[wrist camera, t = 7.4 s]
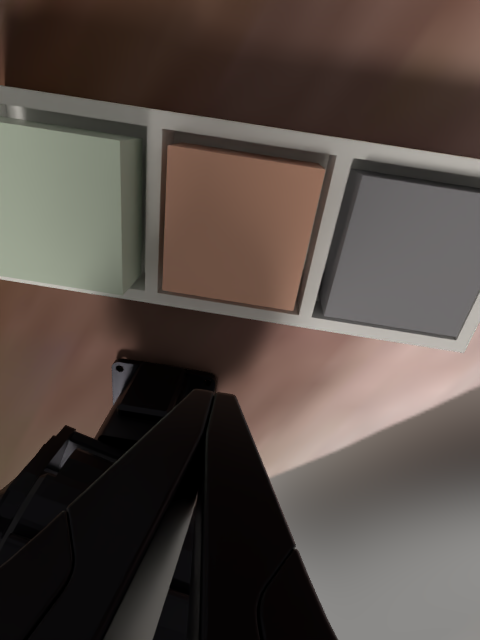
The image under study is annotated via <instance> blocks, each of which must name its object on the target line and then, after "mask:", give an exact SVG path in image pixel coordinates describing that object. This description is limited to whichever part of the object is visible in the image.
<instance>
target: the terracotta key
mask: <svg viewBox="0 0 480 640" xmlns="http://www.w3.org/2000/svg"><path fill="white" fill-rule="evenodd" d="M324 175H325V169H324V168H323V167H322V166H321V165H320V164H319V163H313V162H307V161H300V160H294V159H287V158H281V157H274V156H268V155H261V154H255V153H248V152H242V151H235V150H229V149H222V148H216V147H210V146H203V145H197V144H190V143H184V142H181V143H176V144H171V145H168V148H167V174H166V201H165V227H164V254H163V280H162V290H164V291H170V292H176V293H182V294H189V295H195V296H201V297H208V298H214V299H220V300H227V301H233V302H239V303H245V304H252V305H258V306H264V307H271V308H277V309H283V310H289V311H293V310H294V306H295V301H296V297H297V293H298V288H299V284H300V280H301V275H302V271H303V266H304V262H305V258H306V253H307V249H308V245H309V240H310V236H311V231H312V227H313V223H314V218H315V214H316V210H317V205H318V201H319V196H320V192H321V188H322V183H323V179H324Z"/></svg>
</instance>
